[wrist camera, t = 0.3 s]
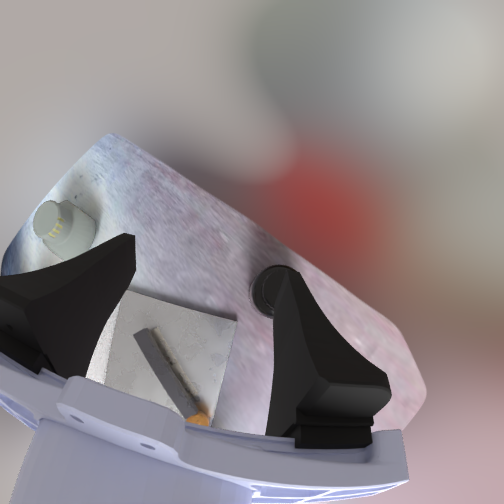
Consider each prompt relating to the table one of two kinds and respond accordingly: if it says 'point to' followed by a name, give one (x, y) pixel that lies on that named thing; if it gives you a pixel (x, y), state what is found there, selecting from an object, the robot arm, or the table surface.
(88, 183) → the table surface
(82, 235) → the air freshener
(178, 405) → the swing arm
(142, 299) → the square grey plate
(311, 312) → the robot arm
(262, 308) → the supplement bottle
